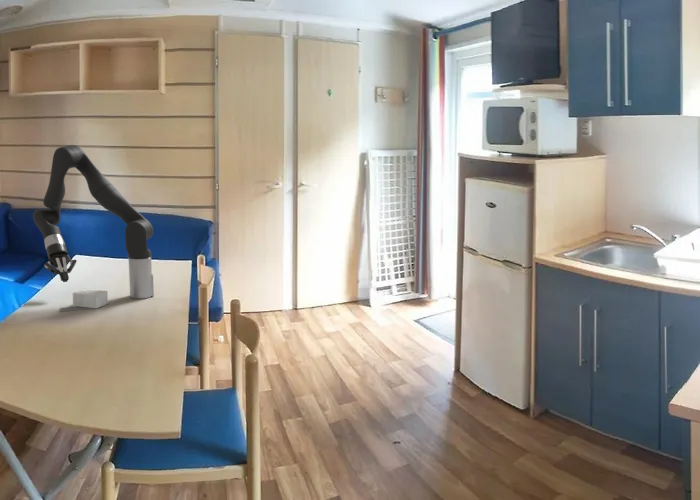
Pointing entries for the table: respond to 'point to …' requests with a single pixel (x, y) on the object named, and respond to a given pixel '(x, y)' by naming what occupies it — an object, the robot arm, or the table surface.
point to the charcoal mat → (73, 308)
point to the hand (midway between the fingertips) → (65, 280)
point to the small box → (90, 298)
